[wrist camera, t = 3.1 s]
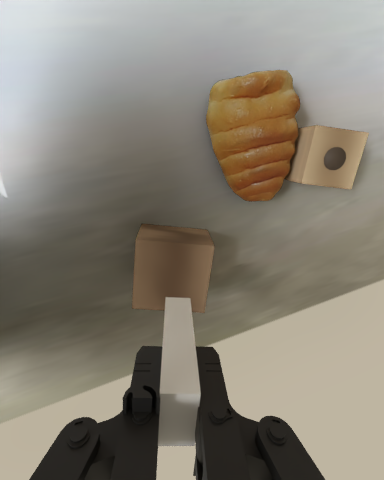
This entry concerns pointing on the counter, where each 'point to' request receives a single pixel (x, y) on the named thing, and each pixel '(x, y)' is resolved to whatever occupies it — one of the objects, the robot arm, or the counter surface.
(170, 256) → the walnut block
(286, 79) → the pastry
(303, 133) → the beech block
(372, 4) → the counter surface
